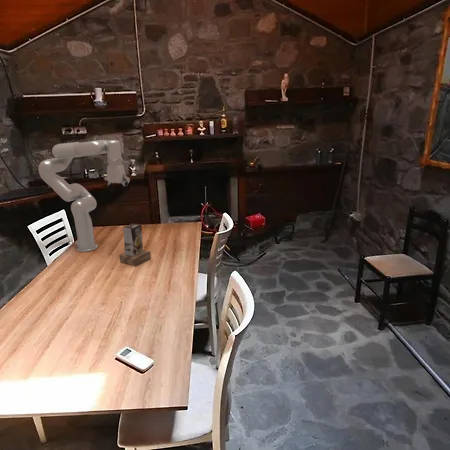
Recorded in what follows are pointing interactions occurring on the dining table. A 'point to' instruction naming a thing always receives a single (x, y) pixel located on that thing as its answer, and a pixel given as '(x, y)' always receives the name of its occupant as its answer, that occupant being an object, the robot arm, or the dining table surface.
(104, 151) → the robot arm
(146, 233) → the dining table surface
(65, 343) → the dining table surface
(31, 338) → the dining table surface
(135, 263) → the walnut block
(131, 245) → the coffee box
